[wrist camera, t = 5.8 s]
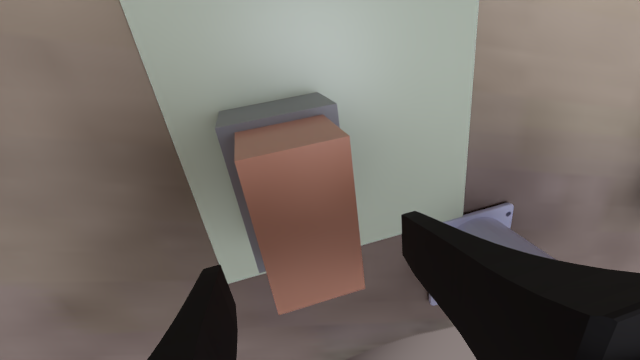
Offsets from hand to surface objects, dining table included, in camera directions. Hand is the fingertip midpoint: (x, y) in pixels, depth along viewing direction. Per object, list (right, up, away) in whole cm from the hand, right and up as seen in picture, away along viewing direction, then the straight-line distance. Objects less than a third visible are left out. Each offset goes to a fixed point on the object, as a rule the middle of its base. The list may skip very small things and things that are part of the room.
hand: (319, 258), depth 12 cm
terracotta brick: (-1, +2, +5) cm, 6 cm away
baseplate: (+1, +8, +8) cm, 11 cm away
